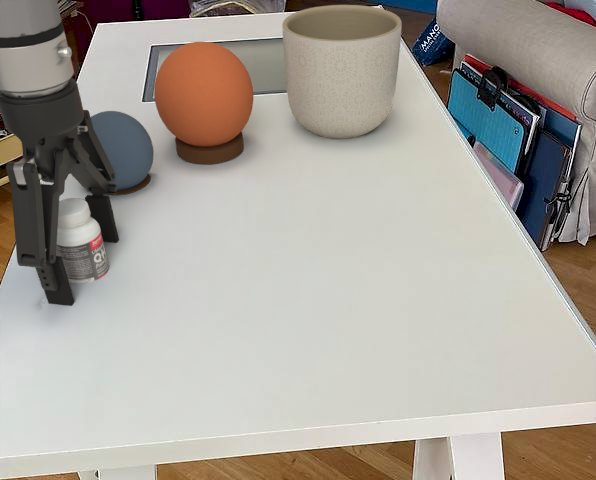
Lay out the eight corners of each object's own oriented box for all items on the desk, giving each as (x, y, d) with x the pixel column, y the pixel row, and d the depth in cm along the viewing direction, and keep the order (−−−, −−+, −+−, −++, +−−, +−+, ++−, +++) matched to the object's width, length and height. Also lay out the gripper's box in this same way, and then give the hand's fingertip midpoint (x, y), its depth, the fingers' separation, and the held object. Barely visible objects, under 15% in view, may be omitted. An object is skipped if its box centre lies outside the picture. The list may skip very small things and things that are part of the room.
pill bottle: (113, 292, 81) (94, 215, 75) (64, 300, 81) (41, 222, 74) (111, 266, 85) (93, 191, 79) (65, 273, 84) (42, 197, 78)
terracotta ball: (150, 167, 104) (131, 59, 94) (180, 127, 114) (166, 26, 104) (244, 173, 102) (235, 63, 92) (266, 132, 112) (260, 29, 102)
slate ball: (74, 208, 96) (52, 128, 88) (103, 174, 103) (85, 97, 96) (145, 214, 94) (129, 132, 87) (169, 179, 101) (157, 100, 94)
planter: (414, 137, 109) (423, 30, 99) (309, 157, 105) (307, 47, 95) (367, 98, 121) (371, -2, 111) (271, 114, 117) (266, 13, 107)
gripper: (9, 140, 58) (73, 346, 73) (120, 42, 76) (154, 224, 90) (-74, 135, 60) (5, 338, 74) (54, 40, 77) (98, 220, 92)
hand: (87, 276), depth 82 cm, fingers open, 12 cm apart
